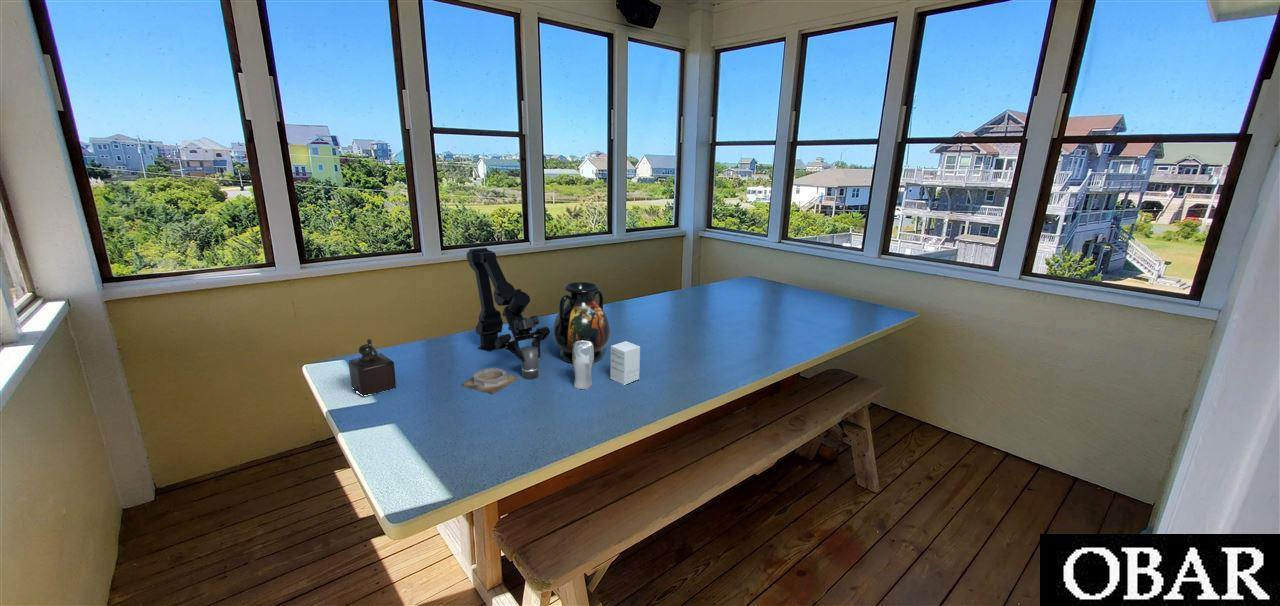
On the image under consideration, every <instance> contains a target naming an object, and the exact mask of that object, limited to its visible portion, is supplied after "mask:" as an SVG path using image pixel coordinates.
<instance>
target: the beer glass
mask: <svg viewBox="0 0 1280 606" xmlns="http://www.w3.org/2000/svg"><path fill="white" fill-rule="evenodd" d="M572 358H573V363H572V365H573V371H574V382H573V387H574V388H575V389H576V388H577V390H579V389H586V390H589V389H588V388H590V387H591V388H592V387H593V382H592V372H593V371H592V370H593V367H594V366H593V365H594V362H593V360H594V349H593V343H592V342H591V341H586V340H581V341H576V342H574V343H573V354H572ZM591 388H590V389H591Z"/></svg>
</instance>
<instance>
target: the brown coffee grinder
mask: <svg viewBox="0 0 1280 606" xmlns="http://www.w3.org/2000/svg"><path fill="white" fill-rule="evenodd" d="M372 341H373V340H372V339H371V338H369V339H367V341H366V342H367V343H364V344H362V345H360V346H359V348H358V353H359V354H360V355H361V356H360V357H358V358H353V359H350V360H348V369H349V371H348V372H349V377H350V378H349V379H350V387H351V386H352V387H353V388H354V389H352V390H354V391H355V392H354V391H353V392H354V393H356V391H358V392H359V393H360V394H362V395H363V396H364V395H368V394H374V393H379V392H382V391H386V390H390V389H393V388H395V389H397V385H396V383H397V382H396V368H395V361H393V360H392V359H390V358H389V357H388V356H386V355H384V354H383V353H382V352H378V351H377V349H376V348H375V347H374V346H373V343H372ZM393 390H394V389H393ZM390 391H391V390H390ZM379 394H380V393H379Z"/></svg>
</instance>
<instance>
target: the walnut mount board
mask: <svg viewBox="0 0 1280 606" xmlns="http://www.w3.org/2000/svg"><path fill="white" fill-rule="evenodd" d="M472 375H473V376H472V377H471V378H469V379H468V380H466V381H464V382H462V387H465V386H466V388H469V389H473V390H475V391H476V390H477V391H480V392H484V393H488V394H491V395H494V394H496V393H497V392H499V391H501V390H503V389H504V388H505V387H507V386H509V385H511V384H513V383H514V382H516V381H517V380H518V376H514V375H509V374H507V370H505V369H501V368H497V367H490V368H482V369H480V370H477V371H476V372H474V373H472Z"/></svg>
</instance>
